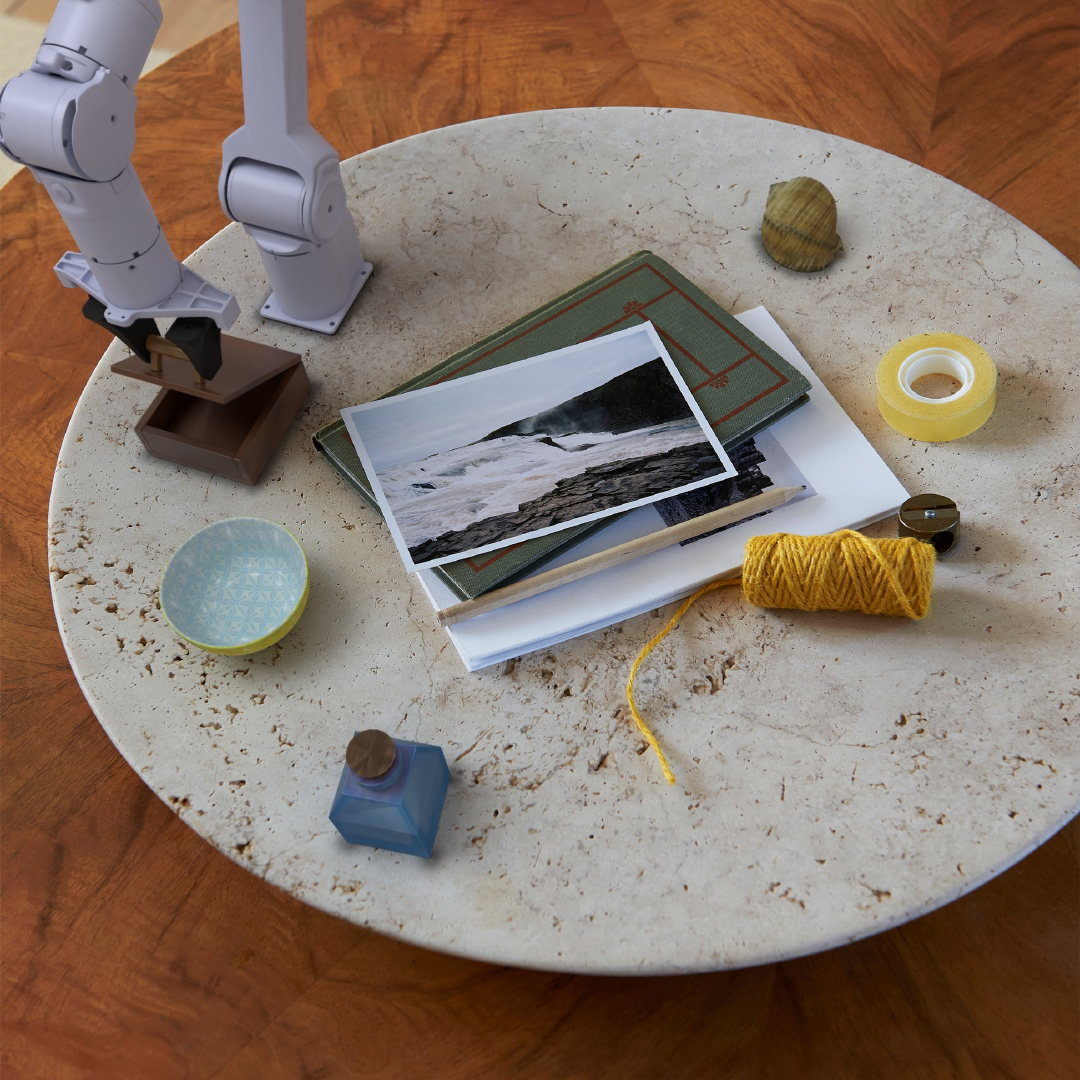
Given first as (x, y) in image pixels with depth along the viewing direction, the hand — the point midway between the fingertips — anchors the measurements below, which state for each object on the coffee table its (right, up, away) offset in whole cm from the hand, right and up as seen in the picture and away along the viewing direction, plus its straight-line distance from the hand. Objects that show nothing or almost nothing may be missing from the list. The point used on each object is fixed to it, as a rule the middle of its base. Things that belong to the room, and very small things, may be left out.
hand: (183, 362), depth 85 cm
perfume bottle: (+19, -34, -9) cm, 40 cm away
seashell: (+55, +15, +19) cm, 60 cm away
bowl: (+6, -21, 0) cm, 22 cm away
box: (+1, -4, +10) cm, 10 cm away
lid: (+1, 0, +4) cm, 4 cm away
